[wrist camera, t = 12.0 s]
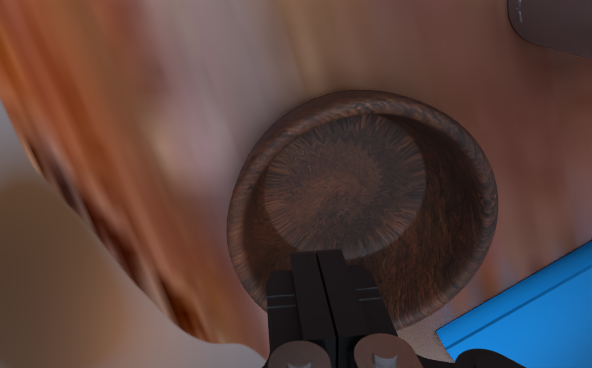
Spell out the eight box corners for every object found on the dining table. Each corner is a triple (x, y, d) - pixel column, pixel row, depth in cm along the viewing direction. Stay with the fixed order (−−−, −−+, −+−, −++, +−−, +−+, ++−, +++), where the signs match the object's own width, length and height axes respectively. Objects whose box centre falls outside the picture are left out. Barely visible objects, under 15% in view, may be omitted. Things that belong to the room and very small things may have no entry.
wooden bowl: (487, 213, 55) (536, 263, 46) (304, 313, 59) (316, 378, 49) (395, 22, 45) (435, 36, 36) (181, 156, 49) (167, 201, 39)
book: (670, 328, 61) (501, 422, 65) (644, 307, 65) (486, 397, 69) (630, 240, 54) (444, 351, 58) (604, 222, 58) (431, 327, 62)
